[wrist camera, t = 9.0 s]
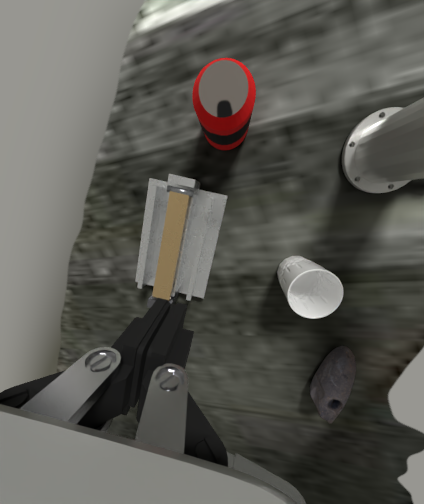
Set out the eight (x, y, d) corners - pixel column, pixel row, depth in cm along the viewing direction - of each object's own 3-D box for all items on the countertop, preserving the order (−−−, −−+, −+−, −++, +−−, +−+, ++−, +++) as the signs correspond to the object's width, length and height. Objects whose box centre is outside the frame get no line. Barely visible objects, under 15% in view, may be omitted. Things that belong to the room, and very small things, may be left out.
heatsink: (229, 190, 37) (228, 187, 30) (203, 298, 43) (197, 319, 35) (154, 172, 38) (134, 165, 30) (139, 282, 43) (119, 299, 36)
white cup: (265, 268, 40) (276, 290, 31) (300, 244, 39) (323, 258, 29) (289, 298, 41) (307, 328, 32) (324, 275, 40) (354, 299, 30)
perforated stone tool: (330, 334, 43) (348, 360, 36) (354, 343, 43) (377, 369, 36) (299, 389, 46) (311, 421, 40) (321, 397, 46) (337, 430, 40)
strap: (194, 191, 32) (193, 190, 31) (173, 298, 36) (171, 301, 35) (169, 185, 32) (167, 184, 31) (151, 293, 36) (149, 295, 35)
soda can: (206, 153, 36) (194, 131, 25) (201, 105, 35) (186, 56, 23) (249, 147, 35) (258, 121, 24) (246, 97, 34) (255, 43, 22)
